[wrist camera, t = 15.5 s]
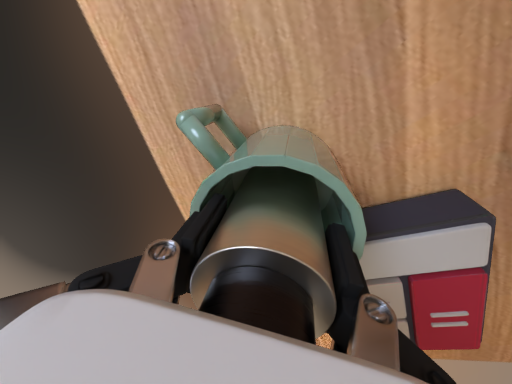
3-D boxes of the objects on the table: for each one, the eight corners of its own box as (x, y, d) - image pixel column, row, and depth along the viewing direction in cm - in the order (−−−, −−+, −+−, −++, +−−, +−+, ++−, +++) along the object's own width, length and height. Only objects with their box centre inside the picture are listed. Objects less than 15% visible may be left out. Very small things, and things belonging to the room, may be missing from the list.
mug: (360, 193, 18) (401, 264, 11) (271, 240, 22) (258, 314, 15) (267, 57, 15) (237, 30, 8) (182, 140, 18) (111, 174, 11)
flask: (233, 195, 18) (139, 358, 7) (268, 139, 15) (199, 268, 5) (288, 228, 18) (275, 424, 8) (331, 180, 16) (399, 379, 5)
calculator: (355, 356, 22) (319, 252, 16) (346, 315, 25) (314, 217, 19) (489, 355, 18) (509, 221, 12) (456, 307, 22) (459, 186, 16)
